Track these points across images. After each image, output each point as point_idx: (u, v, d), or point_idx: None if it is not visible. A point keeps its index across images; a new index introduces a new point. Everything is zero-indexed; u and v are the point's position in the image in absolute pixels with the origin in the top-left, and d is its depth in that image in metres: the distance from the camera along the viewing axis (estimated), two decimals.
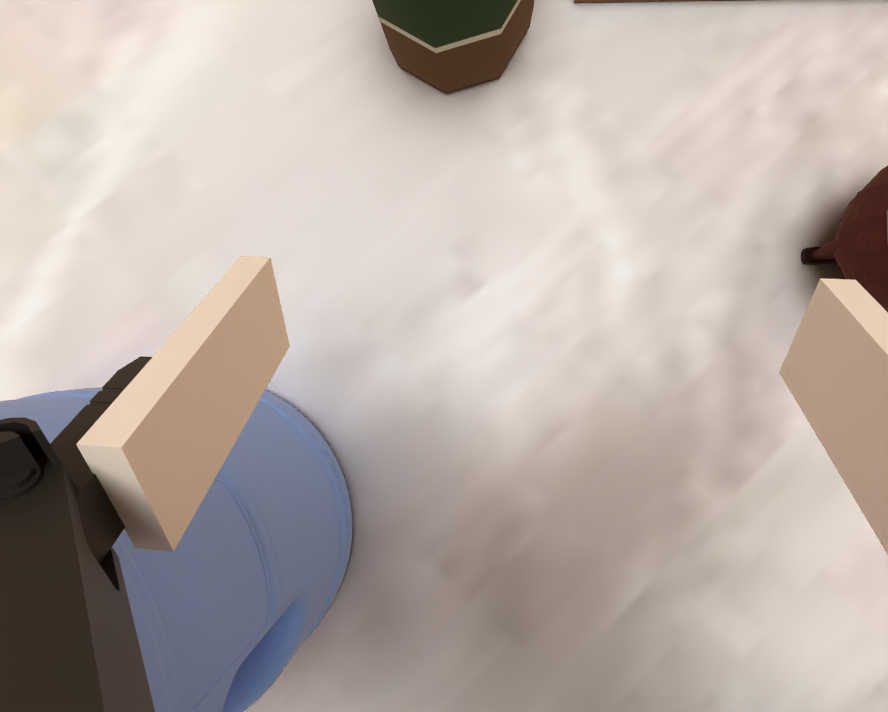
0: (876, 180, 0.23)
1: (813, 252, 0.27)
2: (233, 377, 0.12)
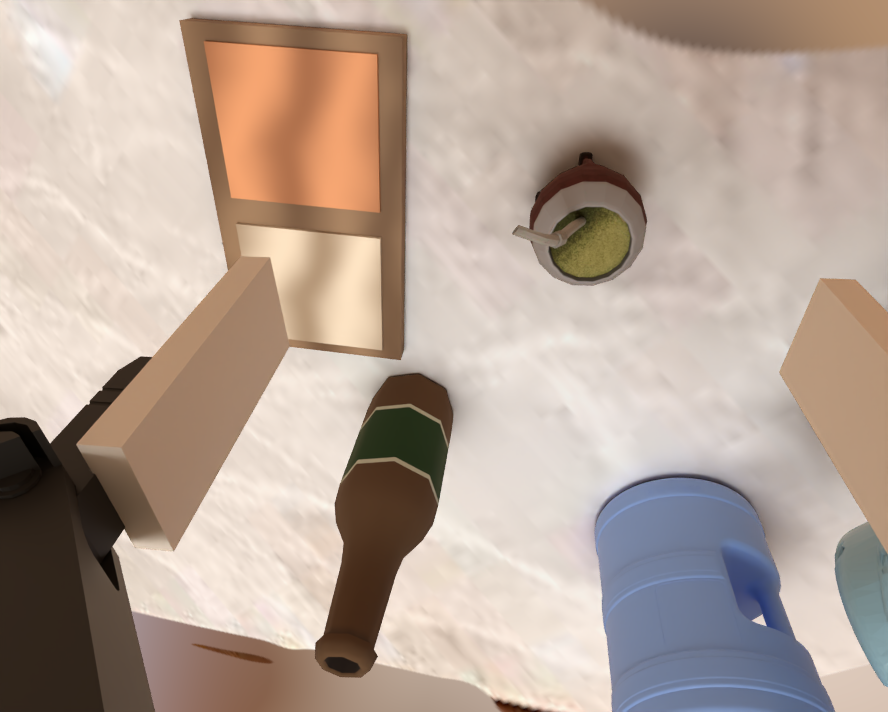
0: None
1: None
2: (233, 377, 0.12)
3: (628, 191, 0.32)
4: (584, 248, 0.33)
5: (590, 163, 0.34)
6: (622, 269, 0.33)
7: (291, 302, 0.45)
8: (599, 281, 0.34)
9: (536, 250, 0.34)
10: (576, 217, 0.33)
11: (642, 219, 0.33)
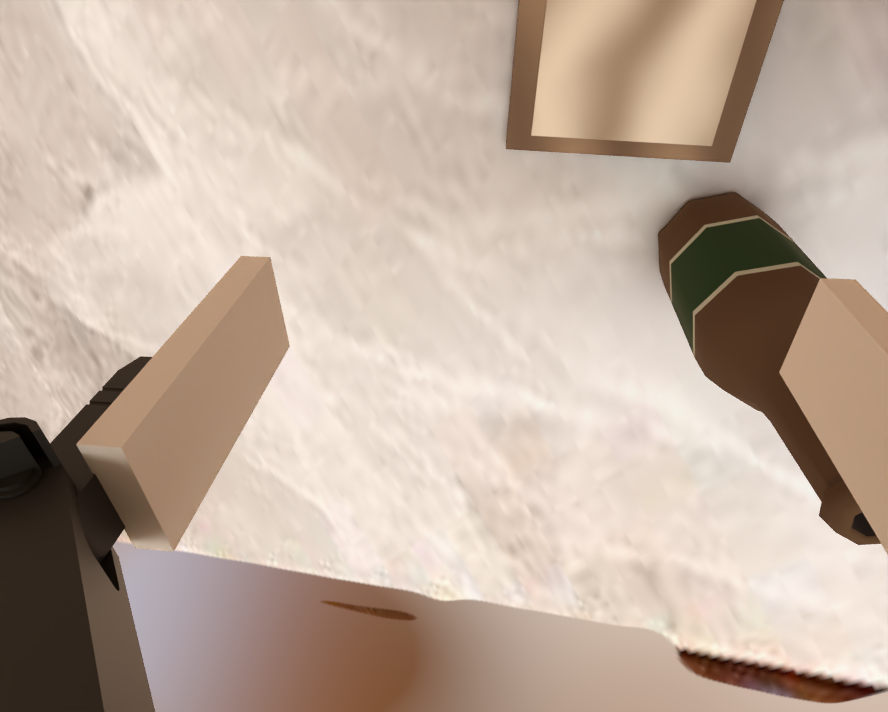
0: None
1: None
2: (233, 377, 0.12)
3: None
4: None
5: None
6: None
7: (601, 73, 0.33)
8: None
9: None
10: None
11: None
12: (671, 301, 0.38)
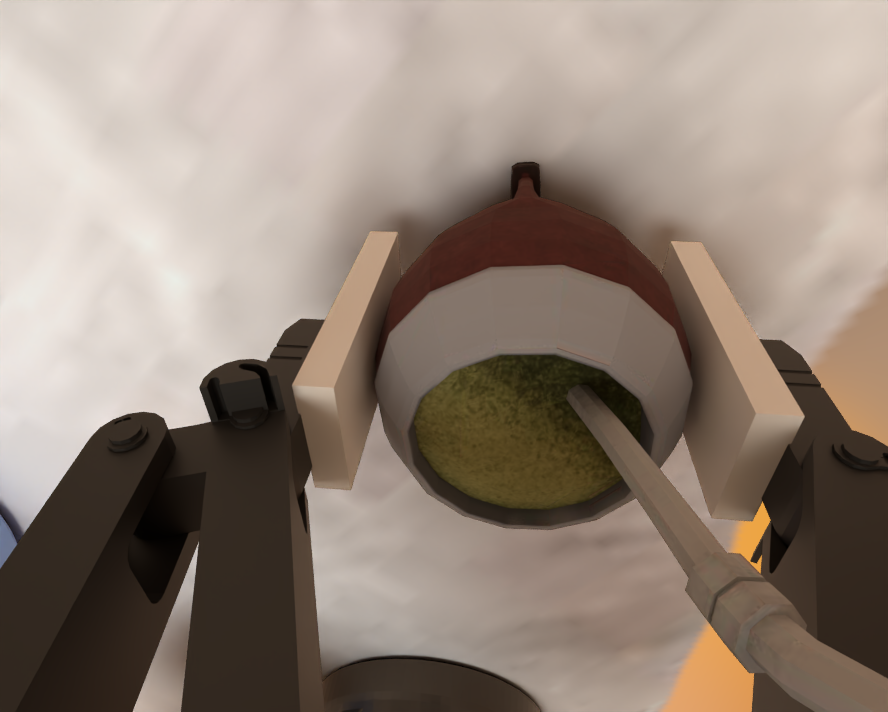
0: (402, 281, 0.12)
1: None
2: None
3: None
4: (507, 425, 0.11)
5: None
6: (459, 512, 0.13)
7: None
8: (416, 475, 0.12)
9: (479, 293, 0.10)
10: (589, 381, 0.11)
11: None
12: None
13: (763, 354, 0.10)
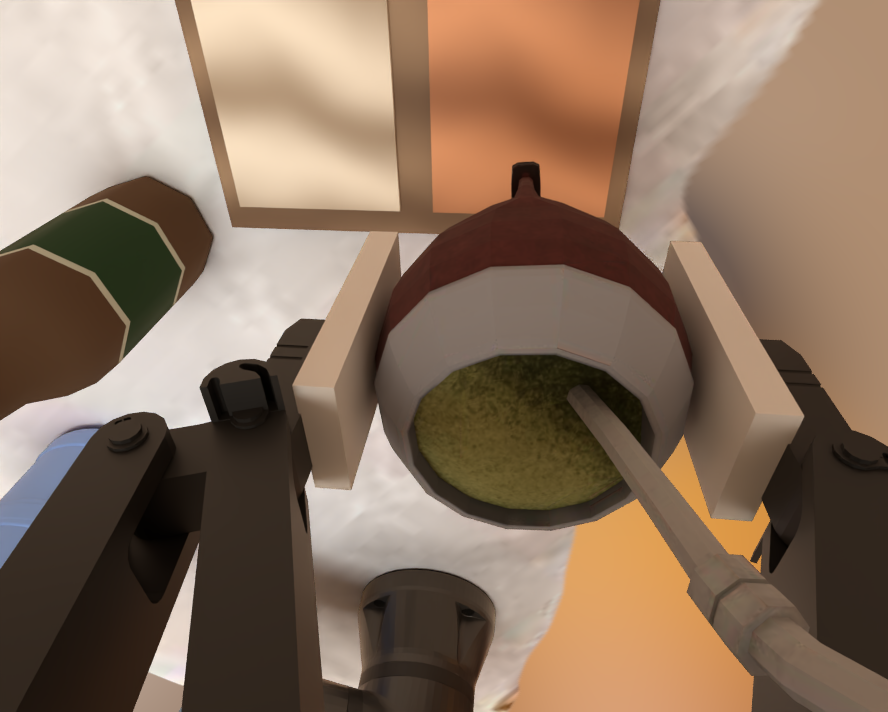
0: (402, 281, 0.12)
1: None
2: None
3: None
4: (507, 425, 0.11)
5: None
6: (459, 513, 0.12)
7: (274, 75, 0.30)
8: (415, 475, 0.12)
9: (479, 292, 0.10)
10: (590, 381, 0.11)
11: None
12: (64, 212, 0.33)
13: (763, 354, 0.10)
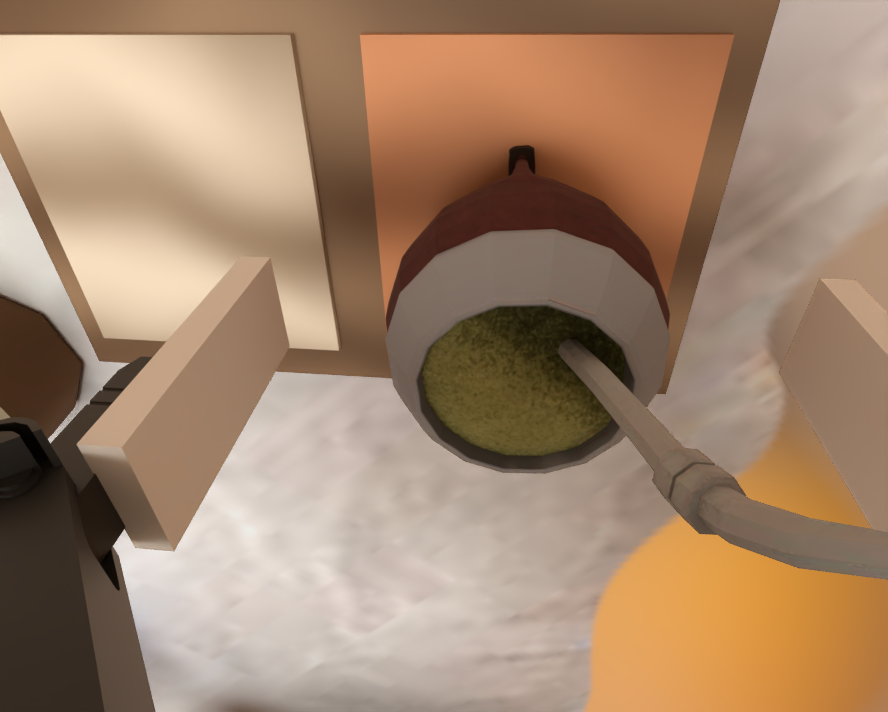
0: (410, 249, 0.14)
1: None
2: (233, 377, 0.12)
3: None
4: (505, 375, 0.13)
5: None
6: (461, 458, 0.14)
7: (125, 160, 0.19)
8: (423, 422, 0.13)
9: (481, 253, 0.11)
10: (578, 335, 0.13)
11: None
12: None
13: None
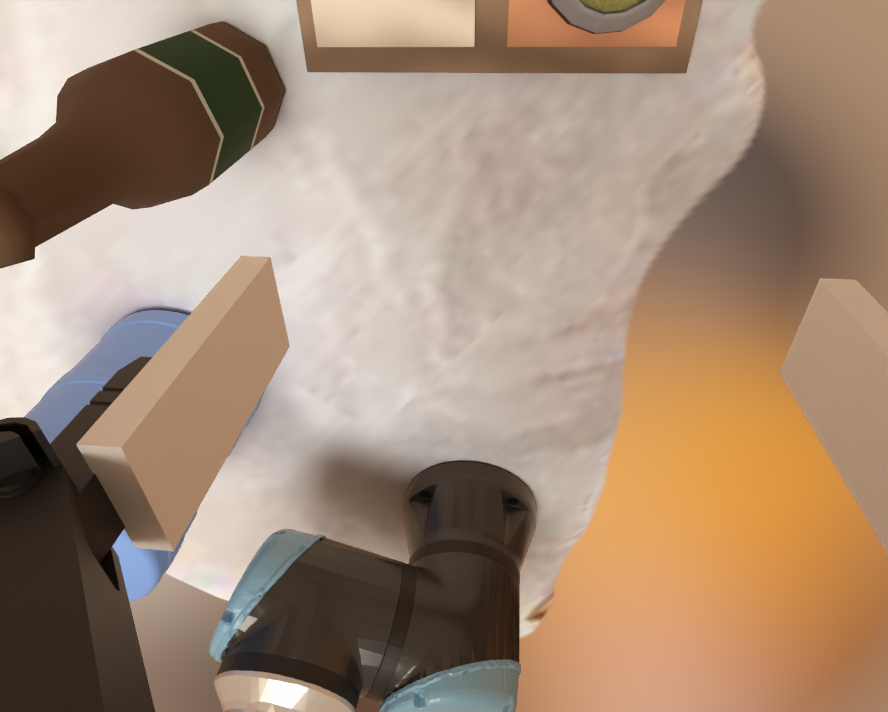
0: None
1: None
2: (233, 377, 0.12)
3: None
4: None
5: None
6: (581, 10, 0.26)
7: None
8: None
9: None
10: None
11: (637, 22, 0.27)
12: None
13: None
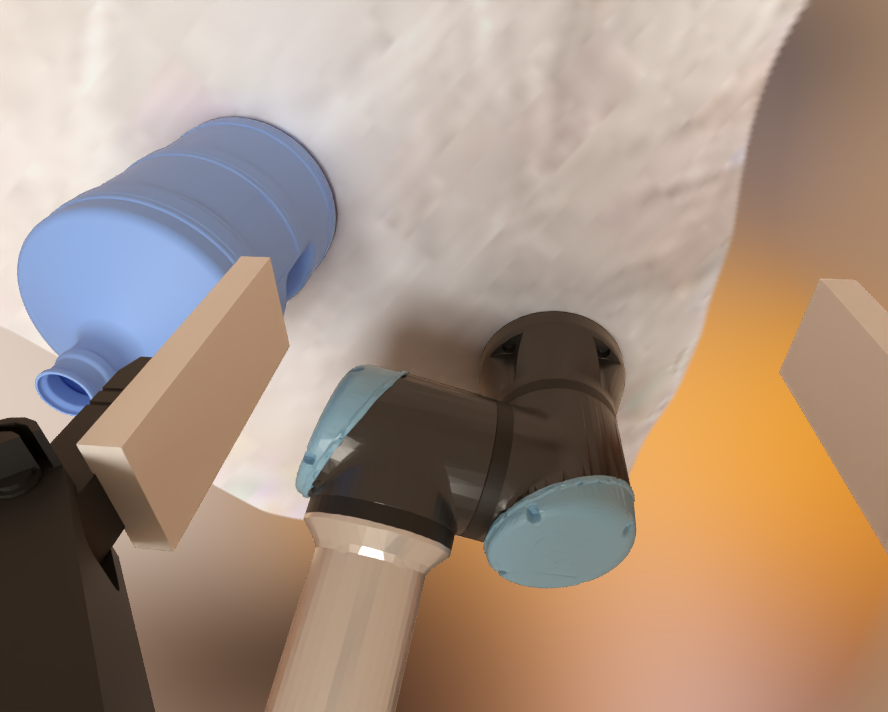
0: None
1: None
2: (233, 377, 0.12)
3: None
4: None
5: None
6: None
7: None
8: None
9: None
10: None
11: None
12: None
13: None
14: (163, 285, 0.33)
